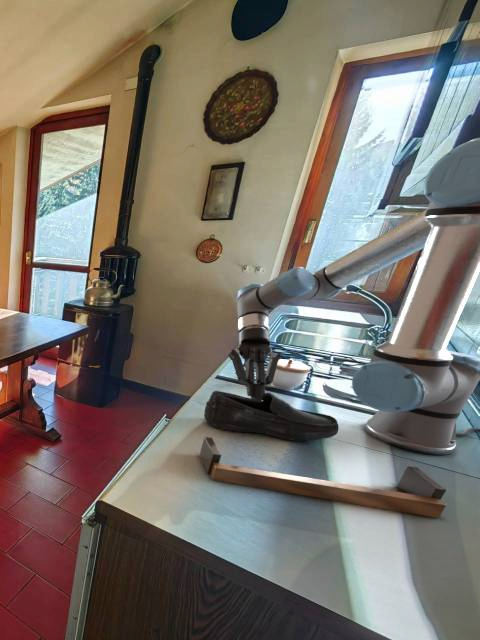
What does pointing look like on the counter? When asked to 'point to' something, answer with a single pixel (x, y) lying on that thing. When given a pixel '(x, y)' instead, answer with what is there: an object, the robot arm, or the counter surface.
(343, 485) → the wooden plank on wedges
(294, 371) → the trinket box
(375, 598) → the counter surface
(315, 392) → the counter surface
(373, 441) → the counter surface
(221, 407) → the loafer
